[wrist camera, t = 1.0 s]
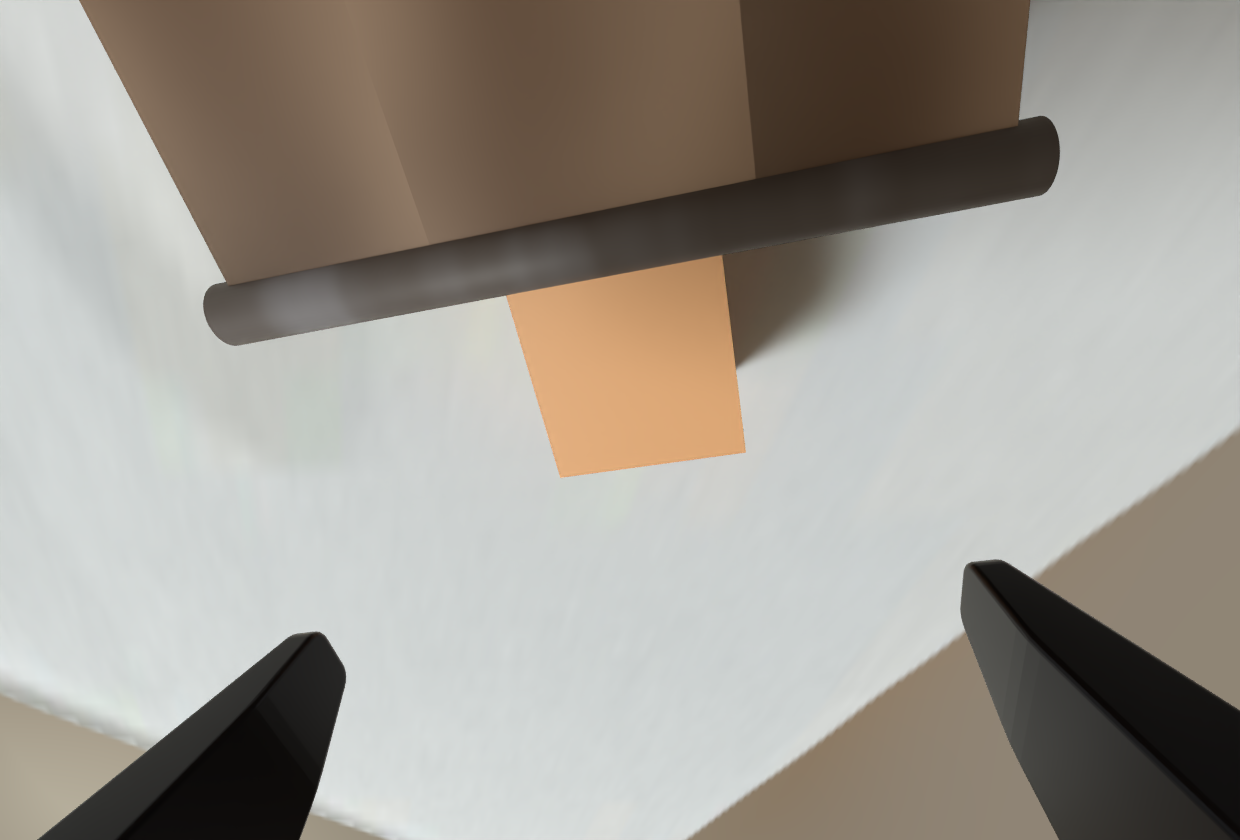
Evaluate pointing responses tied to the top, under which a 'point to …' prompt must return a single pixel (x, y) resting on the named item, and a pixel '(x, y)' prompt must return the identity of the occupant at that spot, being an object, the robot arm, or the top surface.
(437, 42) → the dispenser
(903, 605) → the top surface
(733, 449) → the orange rectangular block
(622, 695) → the top surface
